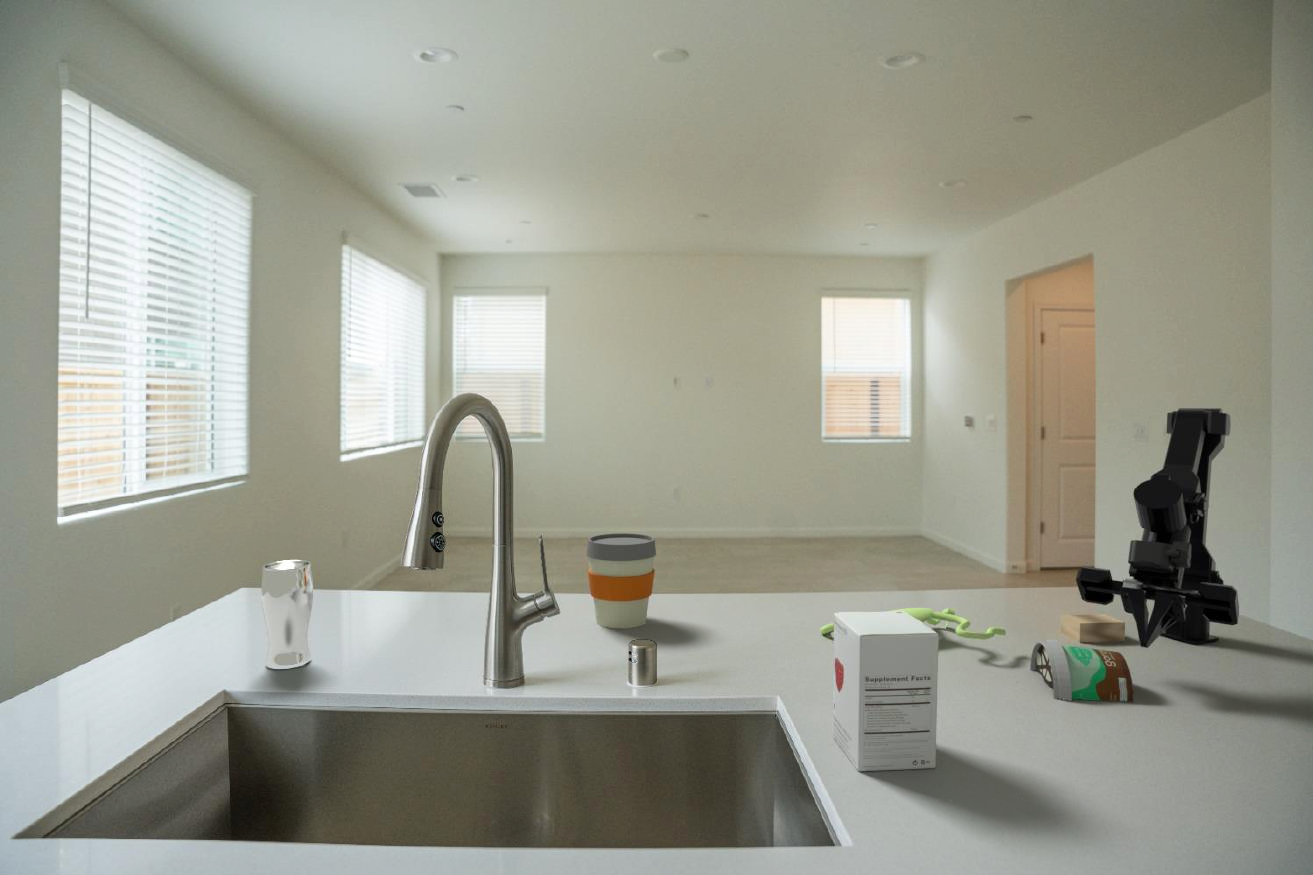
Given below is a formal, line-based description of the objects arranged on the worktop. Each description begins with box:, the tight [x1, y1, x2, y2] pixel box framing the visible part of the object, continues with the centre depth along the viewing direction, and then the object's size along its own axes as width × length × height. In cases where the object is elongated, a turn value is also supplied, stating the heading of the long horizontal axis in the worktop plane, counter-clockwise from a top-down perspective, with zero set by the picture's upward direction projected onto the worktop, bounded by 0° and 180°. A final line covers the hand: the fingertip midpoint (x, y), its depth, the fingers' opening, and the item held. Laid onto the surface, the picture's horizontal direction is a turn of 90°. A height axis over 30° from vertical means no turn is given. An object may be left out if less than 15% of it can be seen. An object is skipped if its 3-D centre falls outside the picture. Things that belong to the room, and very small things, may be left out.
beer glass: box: [260, 559, 314, 666], centre depth 114 cm, size 7×7×15 cm
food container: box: [1029, 638, 1134, 703], centre depth 106 cm, size 12×6×10 cm
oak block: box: [1060, 613, 1126, 643], centre depth 129 cm, size 8×5×4 cm, turn 96°
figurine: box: [819, 607, 1006, 640], centre depth 125 cm, size 18×27×6 cm
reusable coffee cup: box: [586, 532, 657, 629], centre depth 137 cm, size 13×13×15 cm
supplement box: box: [832, 610, 939, 772], centre depth 85 cm, size 9×9×15 cm
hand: (1143, 645), depth 103 cm, fingers closed
